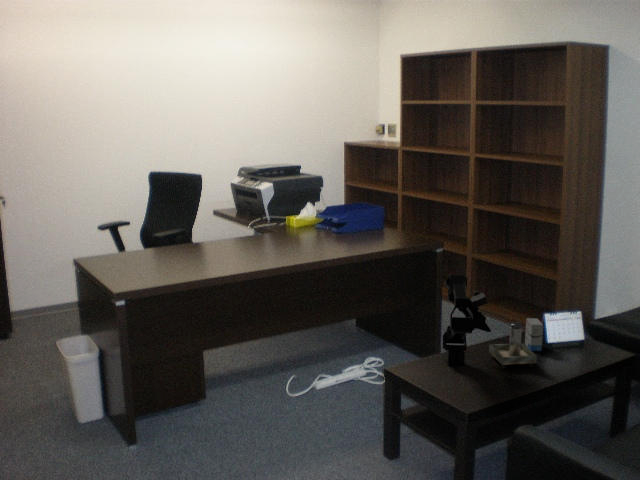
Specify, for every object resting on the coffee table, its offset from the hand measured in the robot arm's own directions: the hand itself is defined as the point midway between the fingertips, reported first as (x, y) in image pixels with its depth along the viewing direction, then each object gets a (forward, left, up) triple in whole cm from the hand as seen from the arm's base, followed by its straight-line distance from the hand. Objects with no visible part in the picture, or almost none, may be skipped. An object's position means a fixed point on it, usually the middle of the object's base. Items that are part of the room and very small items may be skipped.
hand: (487, 326), depth 264 cm
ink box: (+24, +9, -14) cm, 29 cm away
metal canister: (+10, -5, -11) cm, 15 cm away
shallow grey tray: (+9, -5, -14) cm, 17 cm away
